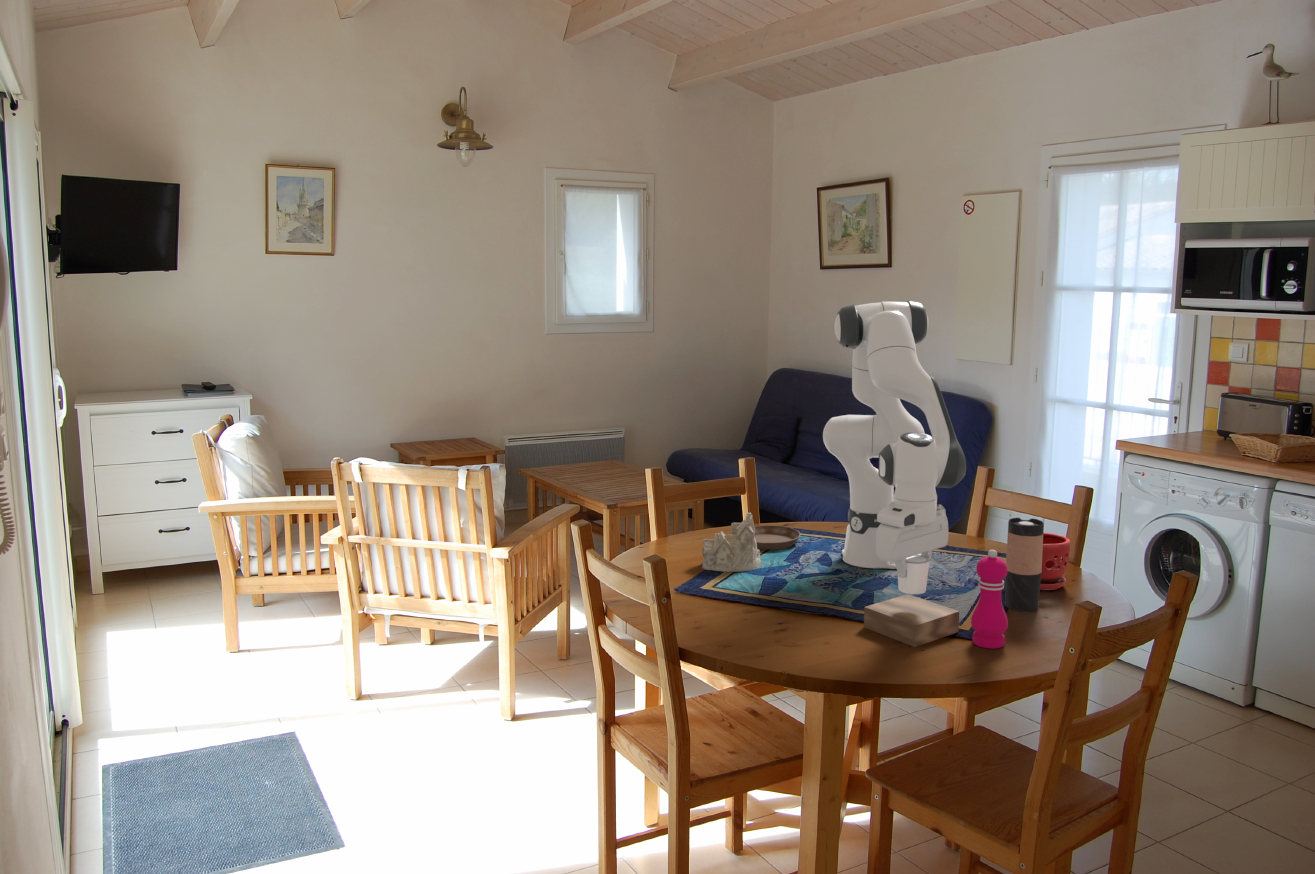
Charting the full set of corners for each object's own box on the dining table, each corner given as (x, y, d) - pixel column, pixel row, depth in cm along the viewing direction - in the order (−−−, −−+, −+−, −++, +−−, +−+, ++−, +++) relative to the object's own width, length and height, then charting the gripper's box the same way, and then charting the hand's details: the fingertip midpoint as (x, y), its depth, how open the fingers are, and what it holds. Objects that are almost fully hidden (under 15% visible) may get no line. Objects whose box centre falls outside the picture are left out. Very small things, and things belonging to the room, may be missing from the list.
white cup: (929, 596, 204) (931, 563, 203) (896, 594, 206) (897, 562, 205) (927, 585, 211) (928, 554, 210) (894, 584, 212) (896, 553, 211)
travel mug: (1022, 614, 218) (1027, 527, 215) (996, 604, 225) (1000, 519, 221) (1046, 608, 222) (1051, 523, 218) (1020, 598, 228) (1024, 515, 225)
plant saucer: (750, 554, 267) (750, 544, 266) (729, 538, 284) (729, 527, 283) (810, 549, 271) (810, 538, 271) (785, 533, 288) (785, 523, 288)
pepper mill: (964, 637, 205) (968, 545, 202) (997, 635, 206) (1002, 544, 202) (978, 650, 198) (982, 555, 195) (1013, 648, 199) (1017, 554, 195)
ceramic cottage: (763, 554, 266) (760, 501, 263) (759, 575, 250) (755, 518, 247) (707, 555, 269) (703, 503, 266) (699, 576, 253) (694, 520, 250)
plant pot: (1075, 583, 238) (1078, 536, 236) (1054, 597, 229) (1057, 547, 227) (1023, 573, 247) (1025, 527, 245) (1001, 585, 238) (1003, 538, 236)
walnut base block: (907, 615, 220) (907, 593, 219) (958, 633, 208) (959, 611, 208) (863, 628, 212) (864, 606, 211) (914, 648, 200) (915, 625, 200)
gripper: (932, 500, 214) (930, 560, 217) (871, 515, 202) (869, 579, 204) (957, 505, 209) (954, 567, 212) (896, 521, 197) (894, 587, 199)
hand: (912, 573), depth 208 cm, fingers closed on white cup, 5 cm apart
